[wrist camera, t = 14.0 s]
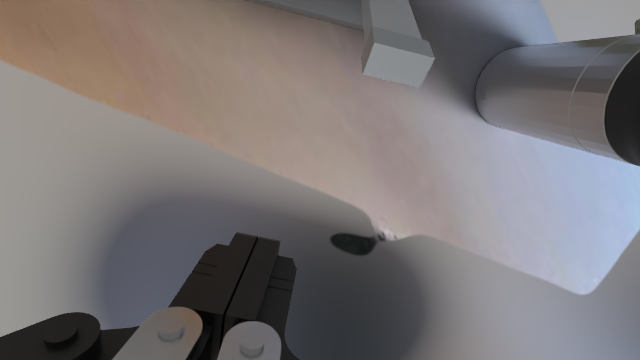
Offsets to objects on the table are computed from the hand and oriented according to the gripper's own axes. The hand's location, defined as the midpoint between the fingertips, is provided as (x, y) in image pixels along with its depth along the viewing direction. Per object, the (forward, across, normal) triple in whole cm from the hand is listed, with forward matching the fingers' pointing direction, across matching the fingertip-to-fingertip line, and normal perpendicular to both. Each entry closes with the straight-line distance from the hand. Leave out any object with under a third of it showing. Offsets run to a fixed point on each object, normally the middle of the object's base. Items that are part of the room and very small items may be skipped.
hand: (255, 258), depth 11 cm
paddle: (+28, -4, -14) cm, 31 cm away
